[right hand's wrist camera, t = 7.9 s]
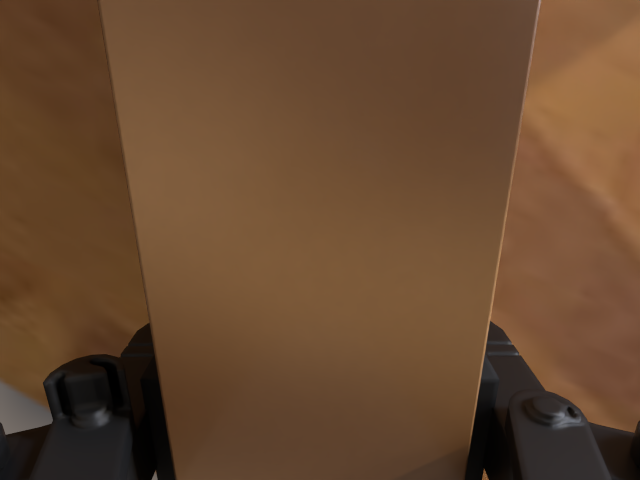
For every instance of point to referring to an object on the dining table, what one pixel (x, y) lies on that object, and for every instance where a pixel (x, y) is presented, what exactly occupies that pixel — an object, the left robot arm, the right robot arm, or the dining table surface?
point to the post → (319, 223)
